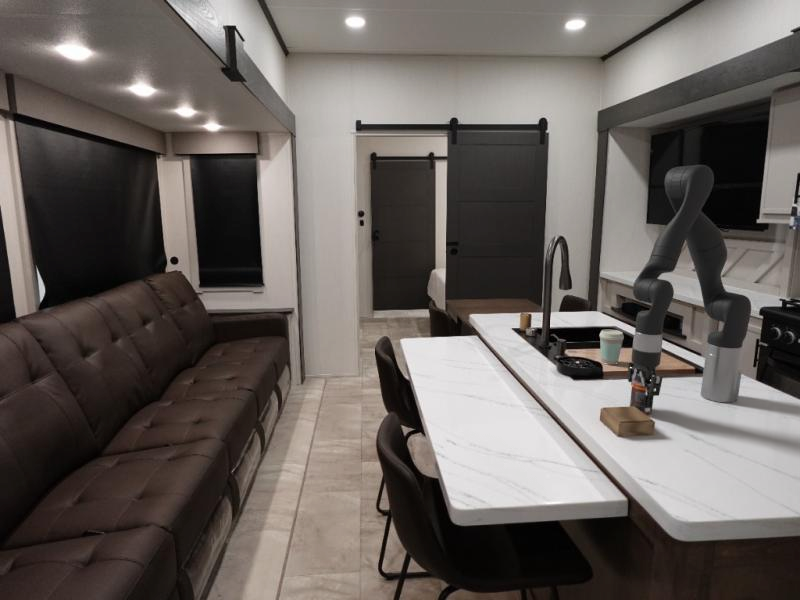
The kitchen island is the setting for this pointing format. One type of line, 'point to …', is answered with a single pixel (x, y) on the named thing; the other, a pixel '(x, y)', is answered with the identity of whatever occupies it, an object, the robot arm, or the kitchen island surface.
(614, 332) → the coffee cup
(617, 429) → the plinth
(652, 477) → the kitchen island surface
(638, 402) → the supplement bottle
